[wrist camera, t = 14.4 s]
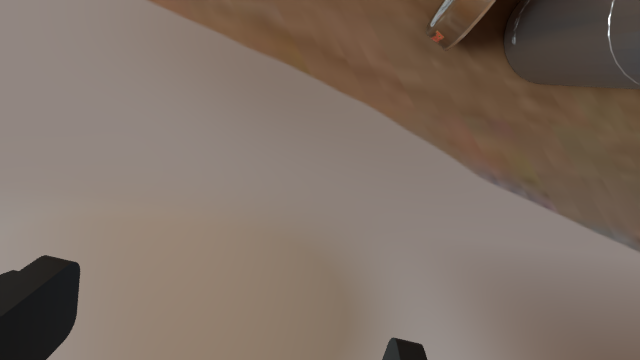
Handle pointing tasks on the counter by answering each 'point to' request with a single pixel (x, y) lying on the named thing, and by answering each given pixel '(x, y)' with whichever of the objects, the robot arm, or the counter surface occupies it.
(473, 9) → the tin
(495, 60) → the counter surface
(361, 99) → the counter surface
